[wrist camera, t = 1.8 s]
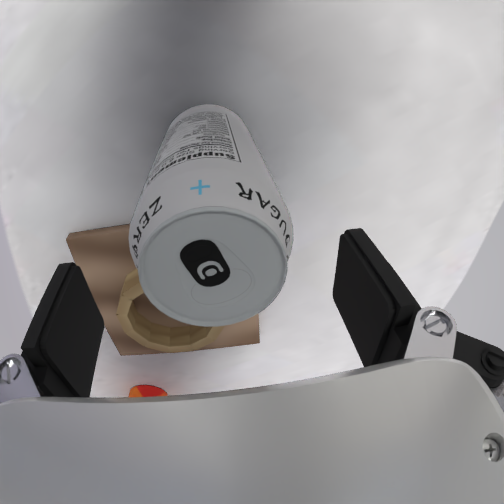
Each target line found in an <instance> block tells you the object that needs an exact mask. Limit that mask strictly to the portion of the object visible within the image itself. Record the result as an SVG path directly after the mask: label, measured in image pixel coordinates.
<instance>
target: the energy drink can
mask: <svg viewBox="0 0 504 504" xmlns="http://www.w3.org/2000/svg"><path fill="white" fill-rule="evenodd" d="M292 244H293V225H292V222H291V218H290V214H289V212H288V210H287V207H286V205H285V203H284V201H283V199H282V197H281V195H280V193H279V191H278V189H277V187H276V185H275V183H274V181H273V179H272V176H271V174H270V172H269V170H268V168H267V166H266V164H265V162H264V160H263V158H262V156H261V154H260V152H259V150H258V148H257V146H256V144H255V143H254V141H253V139H252V137H251V135H250V133H249V131H248V129H247V127H246V125H245V124H244V122H243V120H242V119H241V118H240V117H239V116H238V115H237V114H236V113H234V112H233V111H231V110H230V109H228V108H225V107H223V106H219V105H215V104H203V105H197V106H194V107H191V108H189V109H187V110H185V111H184V112H182V113H181V114H179V115H178V116H177V117H176V118H175V119H174V120H173V122H172V123H171V125H170V126H169V128H168V131H167V133H166V135H165V137H164V140H163V142H162V144H161V146H160V149H159V151H158V153H157V156H156V158H155V161H154V163H153V165H152V168H151V170H150V173H149V175H148V178H147V180H146V183H145V185H144V188H143V191H142V193H141V196H140V198H139V201H138V204H137V207H136V209H135V212H134V215H133V218H132V220H131V223H130V229H129V247H130V253H131V256H132V258H133V261H134V264H135V266H136V268H137V269H138V275H139V282H140V284H141V287H142V289H143V292H144V293H145V295H146V296H147V298H148V299H149V301H150V302H151V303H152V304H153V305H154V306H155V307H156V308H157V309H158V310H160V311H161V312H163V313H164V314H166V315H167V316H169V317H171V318H173V319H175V320H177V321H180V322H183V323H187V324H190V325H196V326H204V327H218V326H225V325H231V324H235V323H238V322H241V321H244V320H246V319H249V318H251V317H253V316H255V315H256V314H258V313H259V312H261V311H262V310H264V309H265V308H266V307H267V306H268V305H270V304H271V303H272V302H273V301H274V299H275V298H276V297H277V295H278V294H279V293H280V291H281V289H282V287H283V284H284V282H285V279H286V274H287V261H288V258H289V256H290V253H291V249H292Z"/></svg>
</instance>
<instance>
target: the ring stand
mask: <svg viewBox="0 0 504 504" xmlns="http://www.w3.org/2000/svg"><path fill="white" fill-rule="evenodd" d="M129 229H130V224H127V225H120V226H113V227H107V228H100V229H94V230H87V231H81V232H75V233H69V235H68V237H67V239H66V241H67V244H68V246H69V249H70V251H71V254H72V256H73V259H74V261H75V263H76V266H80V268H81V270H82V272H83V275H84V277H85V279H86V282H87V284H88V286H89V289H90V291H91V293H92V295H93V298H94V300H95V302H96V304H97V306H98V309H99V311H100V313H101V315H102V317H103V320H104V325H105V327H106V329H107V331H108V333H109V335H110V337H111V339H112V340H113V342H114V344H115V346H116V348H117V350H118V351H119V353H120V355H121V356H122V355H142V354H158V353H177V352H188V351H195V350H205V349H215V348H224V347H232V346H241V345H249V344H256V343H260V339H259V317H258V314H256V315H255V316H253V317H251V318H249V319H246V320H244V321H241V322H238V323H235V324H231V325H225V326H218V327H204V326H196V325H190V324H187V323H183V322H180V321H177V320H175V319H173V318H171V317H169V316H167V315H166V314H164V313H163V312H161V311H160V310H158V309H157V308H156V307H155V306H154V305H153V304H152V303H151V302H150V301H149V299H148V298H147V296H146V295H145V293H144V292H143V289H142V287H141V284H140V282H139V275H138V269H137V268H136V266H135V264H134V261H133V258H132V256H131V253H130V247H129Z"/></svg>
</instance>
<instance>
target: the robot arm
mask: <svg viewBox="0 0 504 504" xmlns="http://www.w3.org/2000/svg"><path fill="white" fill-rule="evenodd" d="M333 299H334V302H335V304H336V306H337V308H338V310H339V312H340V315H341V317H342V319H343V321H344V323H345V325H346V328H347V330H348V332H349V334H350V336H351V339H352V341H353V343H354V345H355V347H356V350H357V352H358V354H359V356H360V359H361V361H362V363H363V366H364V367H363V368H359V369H354V370H350V371H345V372H340V373H335V374H330V375H325V376H320V377H315V378H310V379H304V380H299V381H293V382H287V383H281V384H275V385H268V386H261V387H254V388H246V389H239V390H230V391H221V392H211V393H201V394H189V395H174V396H156V397H127V398H89V397H90V391H91V386H92V381H93V376H94V371H95V366H96V361H97V356H98V352H99V347H100V343H101V339H102V334H103V330H104V320H103V317H102V315H101V313H100V311H99V309H98V306H97V304H96V302H95V300H94V298H93V295H92V293H91V291H90V289H89V286H88V284H87V282H86V279H85V277H84V275H83V272H82V270H81V268H80V266H76V264H75V263H73V262H71V263H63V264H59V265H58V267H57V269H56V271H55V273H54V275H53V277H52V279H51V281H50V283H49V285H48V287H47V289H46V291H45V293H44V295H43V297H42V299H41V301H40V304H39V306H38V308H37V310H36V312H35V315H34V317H33V319H32V321H31V324H30V326H29V328H28V331H27V333H26V336H25V338H24V341H23V343H22V346H21V349H22V350H23V352H22V354H21V356H20V355H19V354H10V355H7V356H5V357H4V358H3V359H1V360H0V504H504V351H502V350H501V349H500V348H498V347H496V346H493V345H490V344H488V343H485V342H483V341H480V340H478V339H475V338H473V337H470V336H468V335H465V334H463V333H460V332H458V331H457V326H456V325H457V324H456V322H455V319H454V318H453V317H452V316H451V314H449V313H448V312H447V311H445V310H443V309H441V308H438V307H425V308H422V309H421V307H420V306H419V304H418V303H417V301H416V300H415V298H414V297H413V296H412V294H411V293H410V291H409V290H408V288H407V287H406V286H405V284H404V283H403V281H402V280H401V279H400V277H399V276H398V275H397V273H396V272H395V270H394V269H393V268H392V266H391V265H390V264H389V263H388V262H387V260H386V259H385V258H384V256H383V255H382V254H381V252H380V251H379V250H378V249H377V247H376V246H375V245H374V243H373V242H372V241H371V239H370V238H369V237H368V236H367V234H366V233H365V232H364V230H363V229H361V228H358V229H349V230H346V231H345V233H344V234H342V235H341V236H340V241H339V249H338V257H337V265H336V273H335V280H334V287H333Z"/></svg>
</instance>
